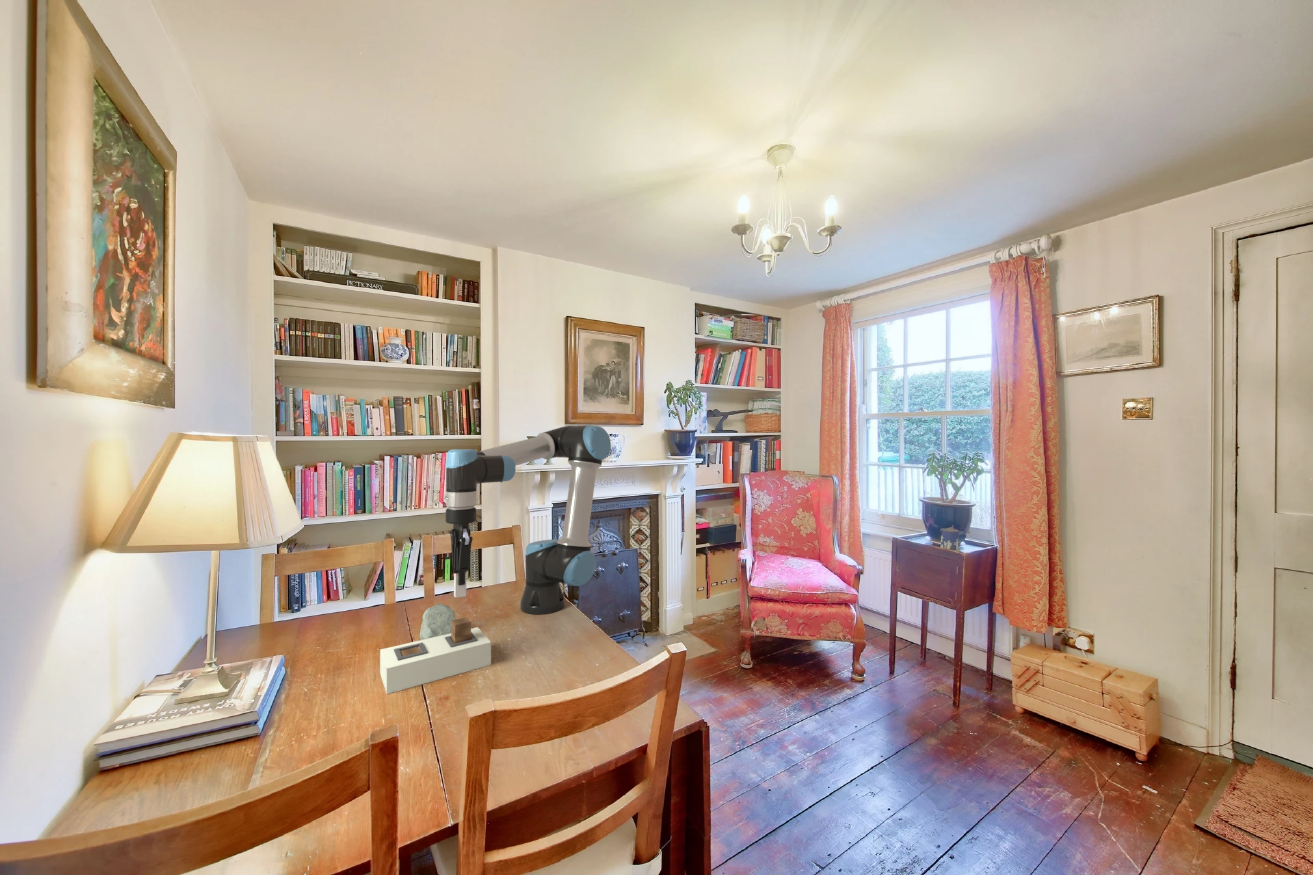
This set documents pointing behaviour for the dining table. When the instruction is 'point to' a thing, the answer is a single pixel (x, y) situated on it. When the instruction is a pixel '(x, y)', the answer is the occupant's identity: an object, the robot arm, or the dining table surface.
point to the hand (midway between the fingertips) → (460, 596)
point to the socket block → (433, 660)
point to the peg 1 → (410, 651)
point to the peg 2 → (460, 630)
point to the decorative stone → (436, 621)
